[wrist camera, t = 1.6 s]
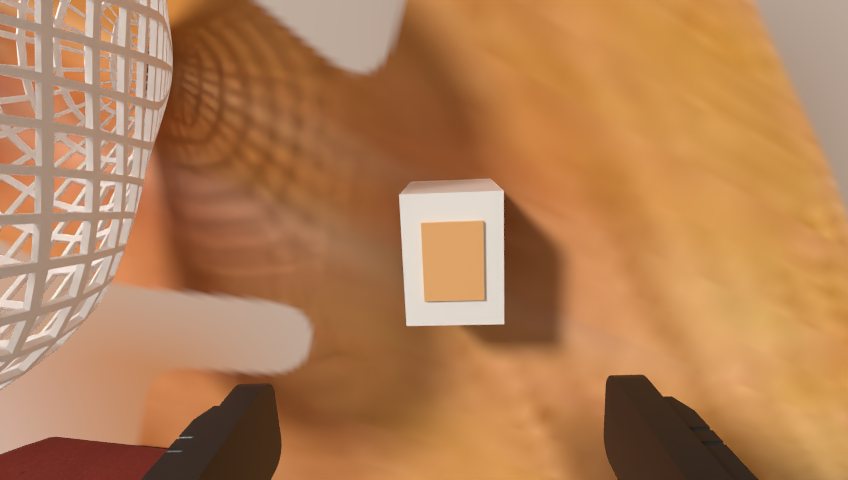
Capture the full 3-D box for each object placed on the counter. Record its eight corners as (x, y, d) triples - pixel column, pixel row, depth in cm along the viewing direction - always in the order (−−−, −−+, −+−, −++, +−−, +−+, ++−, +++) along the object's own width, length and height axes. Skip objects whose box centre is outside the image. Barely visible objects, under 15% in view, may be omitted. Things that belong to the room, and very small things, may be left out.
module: (410, 181, 28) (398, 195, 21) (490, 178, 28) (504, 191, 21) (416, 283, 29) (406, 327, 22) (491, 281, 29) (504, 325, 22)
